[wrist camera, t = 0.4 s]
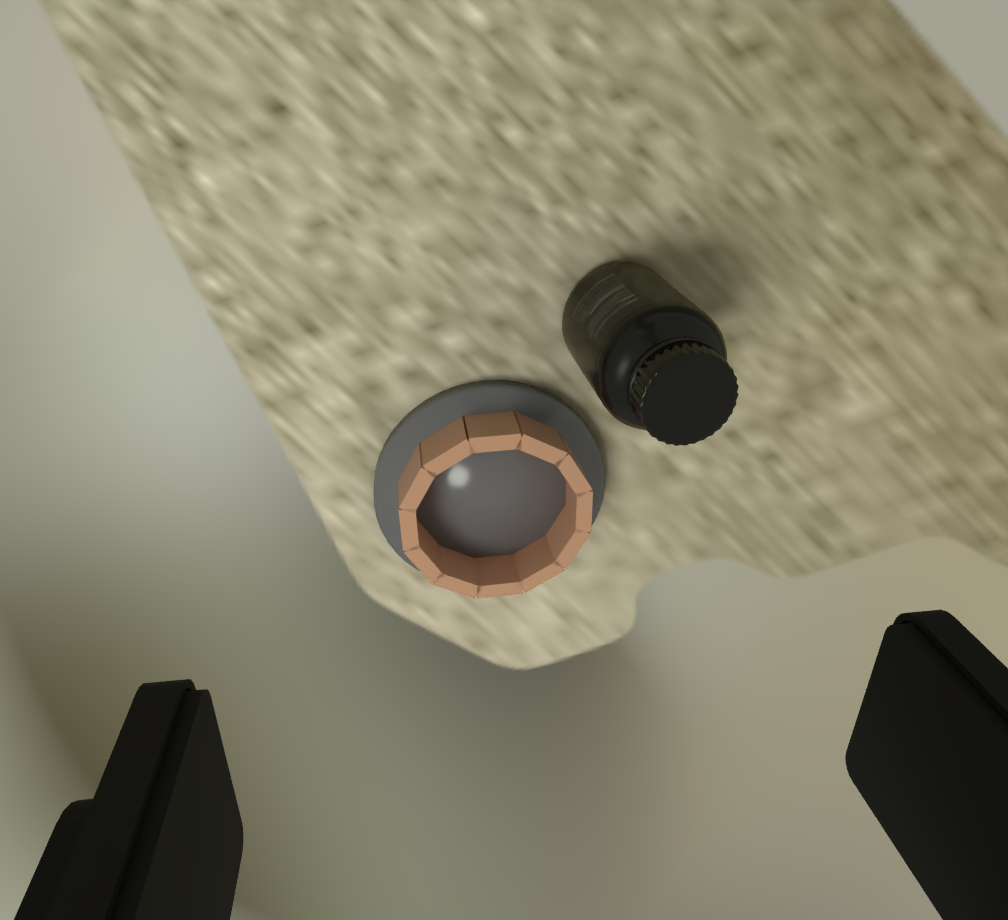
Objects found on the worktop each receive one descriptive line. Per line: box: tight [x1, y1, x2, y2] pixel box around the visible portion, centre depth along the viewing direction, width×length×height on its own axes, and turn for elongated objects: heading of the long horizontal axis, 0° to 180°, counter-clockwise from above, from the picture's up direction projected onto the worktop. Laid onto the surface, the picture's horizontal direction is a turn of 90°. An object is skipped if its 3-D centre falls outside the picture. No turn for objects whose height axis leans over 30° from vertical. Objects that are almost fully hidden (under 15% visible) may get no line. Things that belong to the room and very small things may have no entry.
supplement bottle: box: [562, 262, 738, 446], centre depth 39 cm, size 7×7×12 cm
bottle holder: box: [374, 381, 605, 599], centre depth 47 cm, size 15×15×4 cm
